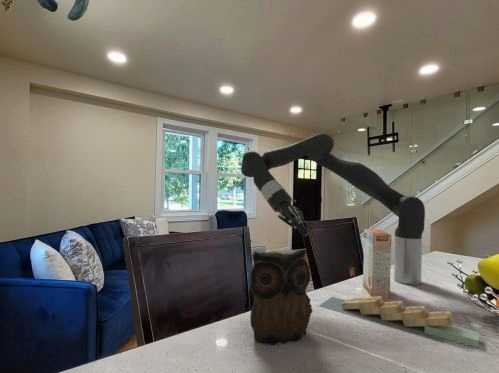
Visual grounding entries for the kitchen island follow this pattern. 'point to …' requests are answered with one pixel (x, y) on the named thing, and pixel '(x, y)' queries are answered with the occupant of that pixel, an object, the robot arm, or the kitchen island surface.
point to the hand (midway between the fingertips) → (306, 234)
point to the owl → (280, 296)
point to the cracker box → (377, 263)
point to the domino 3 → (407, 314)
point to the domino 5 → (455, 334)
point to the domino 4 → (431, 319)
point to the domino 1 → (362, 302)
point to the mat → (378, 319)
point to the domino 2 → (384, 308)
